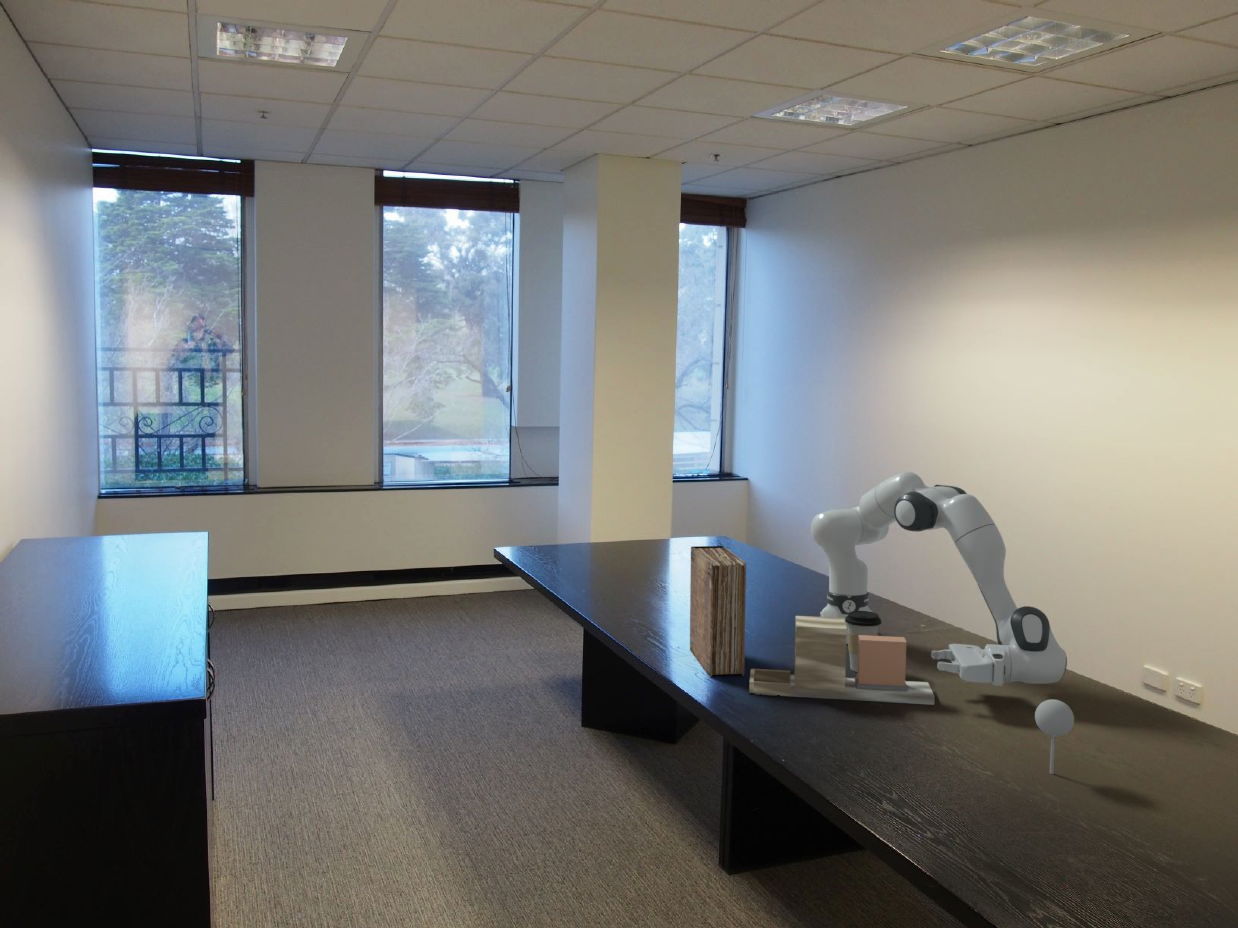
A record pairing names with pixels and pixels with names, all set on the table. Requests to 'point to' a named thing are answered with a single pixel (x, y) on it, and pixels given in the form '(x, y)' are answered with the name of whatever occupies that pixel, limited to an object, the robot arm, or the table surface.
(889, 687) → the block
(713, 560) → the book
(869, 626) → the coffee cup
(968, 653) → the robot arm
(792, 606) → the table surface
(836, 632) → the tunnel track
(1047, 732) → the lollipop
